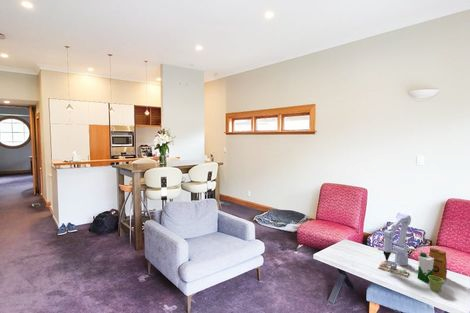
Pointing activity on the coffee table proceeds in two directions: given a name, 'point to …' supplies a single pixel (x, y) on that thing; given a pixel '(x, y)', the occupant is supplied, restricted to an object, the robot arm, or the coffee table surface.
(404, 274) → the button panel
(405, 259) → the robot arm
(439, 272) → the coffee package
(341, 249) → the coffee table surface
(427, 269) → the milk carton
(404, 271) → the button sage
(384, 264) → the button terracotta
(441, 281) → the plant pot
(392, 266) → the button grey
